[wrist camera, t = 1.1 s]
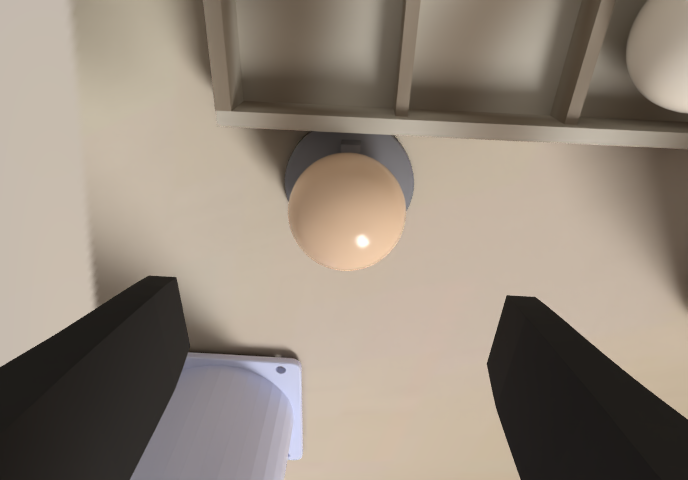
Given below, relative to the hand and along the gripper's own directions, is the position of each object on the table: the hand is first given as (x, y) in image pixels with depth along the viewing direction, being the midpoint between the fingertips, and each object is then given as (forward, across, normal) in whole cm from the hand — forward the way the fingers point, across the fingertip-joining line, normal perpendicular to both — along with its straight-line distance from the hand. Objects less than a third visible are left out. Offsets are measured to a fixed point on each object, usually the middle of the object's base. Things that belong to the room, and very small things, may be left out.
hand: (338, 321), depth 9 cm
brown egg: (+8, 0, 0) cm, 8 cm away
